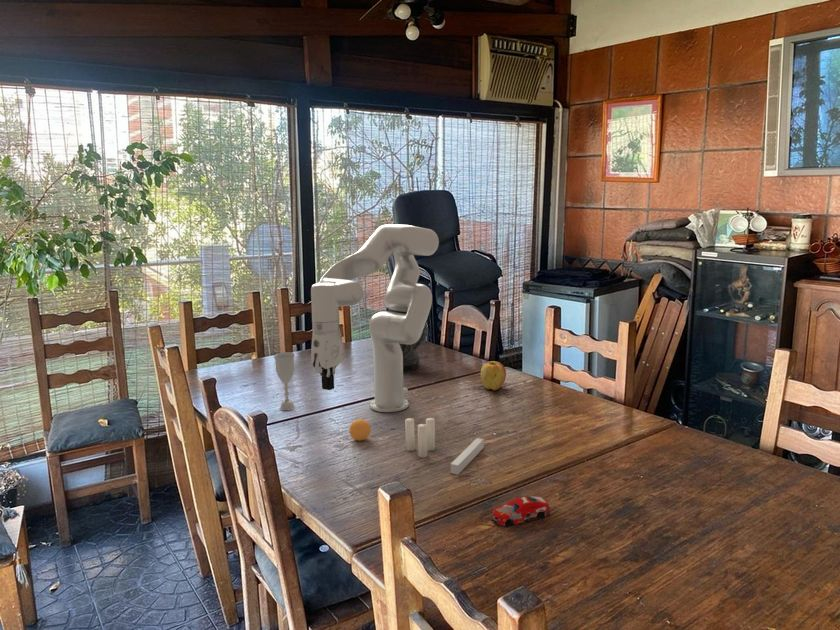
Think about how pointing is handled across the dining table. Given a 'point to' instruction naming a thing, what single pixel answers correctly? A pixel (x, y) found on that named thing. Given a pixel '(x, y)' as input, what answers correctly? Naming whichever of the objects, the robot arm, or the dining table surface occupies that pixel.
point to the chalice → (285, 375)
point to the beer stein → (411, 349)
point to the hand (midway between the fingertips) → (328, 388)
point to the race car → (521, 511)
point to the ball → (360, 429)
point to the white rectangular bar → (467, 456)
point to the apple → (493, 375)
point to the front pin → (409, 434)
